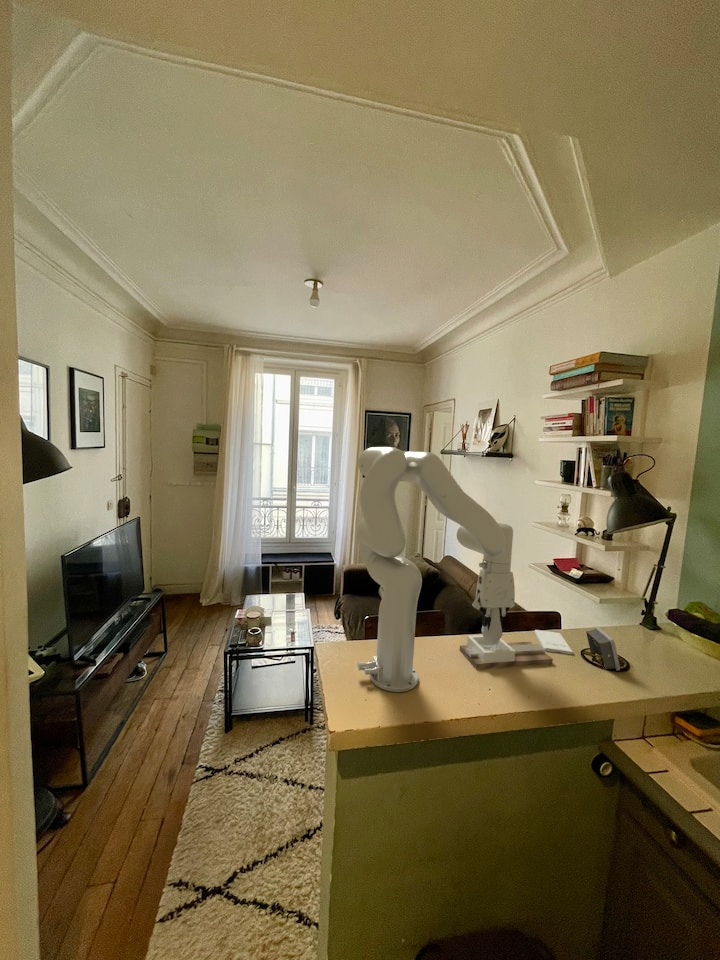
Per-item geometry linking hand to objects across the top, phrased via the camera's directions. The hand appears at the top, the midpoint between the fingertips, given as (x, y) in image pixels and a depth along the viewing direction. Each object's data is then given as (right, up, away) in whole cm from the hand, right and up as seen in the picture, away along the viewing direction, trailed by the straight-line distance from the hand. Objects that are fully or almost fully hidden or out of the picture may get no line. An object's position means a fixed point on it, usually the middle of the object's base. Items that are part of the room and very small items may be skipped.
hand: (492, 627), depth 108 cm
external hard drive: (+24, -10, +12) cm, 28 cm away
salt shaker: (0, -4, 0) cm, 4 cm away
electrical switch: (+33, -11, +1) cm, 35 cm away
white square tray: (-1, -8, +1) cm, 8 cm away
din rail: (+4, -8, +1) cm, 9 cm away
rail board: (+4, -9, +2) cm, 10 cm away
